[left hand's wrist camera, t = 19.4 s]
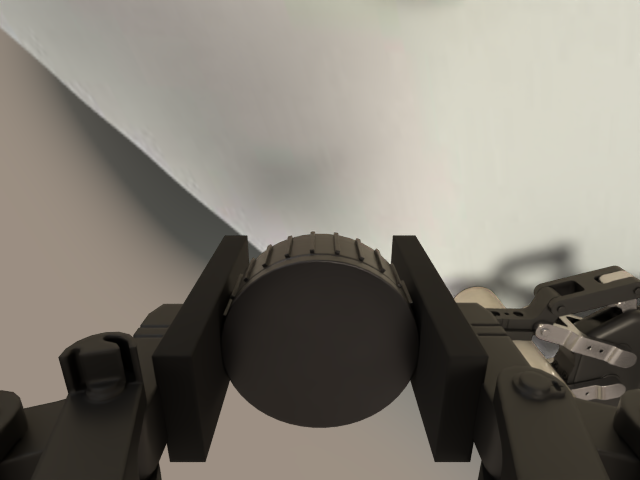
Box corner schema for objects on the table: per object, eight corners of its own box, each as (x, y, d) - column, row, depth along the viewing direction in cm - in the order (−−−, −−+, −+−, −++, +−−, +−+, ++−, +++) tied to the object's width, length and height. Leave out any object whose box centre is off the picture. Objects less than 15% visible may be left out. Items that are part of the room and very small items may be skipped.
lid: (382, 205, 11) (393, 229, 9) (426, 360, 12) (442, 403, 11) (202, 261, 11) (182, 293, 10) (268, 402, 13) (261, 449, 11)
